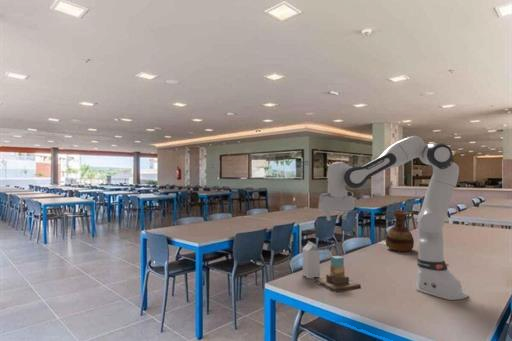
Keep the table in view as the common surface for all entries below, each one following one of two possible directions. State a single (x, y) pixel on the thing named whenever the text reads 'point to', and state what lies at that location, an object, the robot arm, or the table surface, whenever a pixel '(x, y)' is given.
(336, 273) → the oak cube
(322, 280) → the walnut base
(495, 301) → the table surface
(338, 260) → the teal cube
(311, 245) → the milk carton
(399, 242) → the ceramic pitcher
